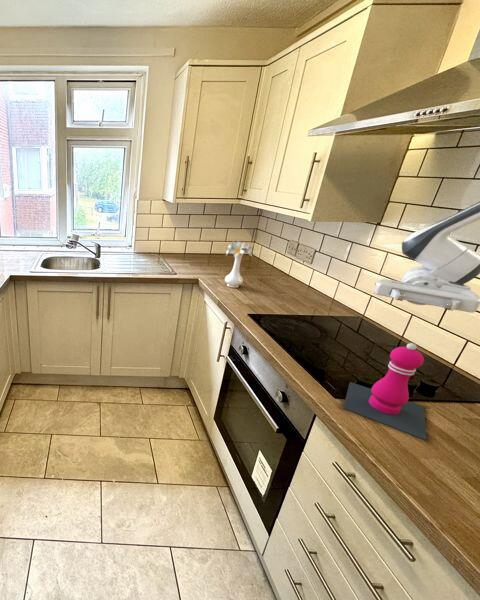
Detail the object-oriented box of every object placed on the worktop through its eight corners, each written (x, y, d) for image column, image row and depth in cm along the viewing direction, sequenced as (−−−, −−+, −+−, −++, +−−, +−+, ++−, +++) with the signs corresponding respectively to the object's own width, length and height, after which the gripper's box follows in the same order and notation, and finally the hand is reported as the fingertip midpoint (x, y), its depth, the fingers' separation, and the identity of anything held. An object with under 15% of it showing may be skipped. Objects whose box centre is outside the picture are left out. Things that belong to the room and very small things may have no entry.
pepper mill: (407, 412, 84) (440, 347, 77) (391, 419, 82) (423, 353, 74) (375, 395, 91) (403, 334, 83) (360, 401, 88) (387, 339, 81)
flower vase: (239, 281, 185) (248, 238, 176) (248, 291, 169) (259, 245, 159) (216, 279, 188) (223, 237, 178) (223, 290, 171) (231, 244, 161)
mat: (423, 407, 87) (423, 406, 87) (426, 440, 76) (426, 439, 76) (349, 382, 97) (349, 381, 97) (343, 408, 86) (343, 407, 86)
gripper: (379, 271, 99) (376, 282, 89) (479, 287, 86) (488, 301, 76) (372, 290, 101) (368, 302, 92) (468, 308, 88) (475, 324, 79)
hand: (424, 302), depth 84 cm, fingers open, 8 cm apart
